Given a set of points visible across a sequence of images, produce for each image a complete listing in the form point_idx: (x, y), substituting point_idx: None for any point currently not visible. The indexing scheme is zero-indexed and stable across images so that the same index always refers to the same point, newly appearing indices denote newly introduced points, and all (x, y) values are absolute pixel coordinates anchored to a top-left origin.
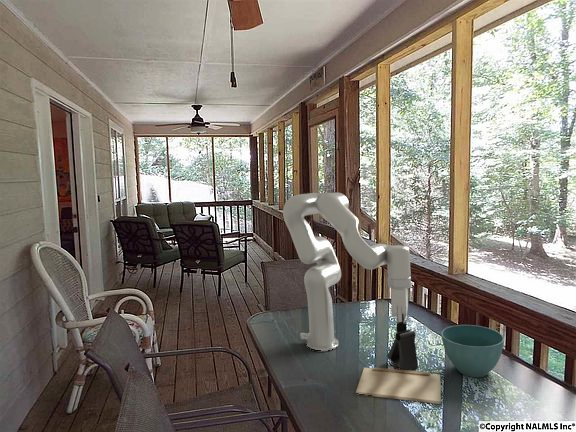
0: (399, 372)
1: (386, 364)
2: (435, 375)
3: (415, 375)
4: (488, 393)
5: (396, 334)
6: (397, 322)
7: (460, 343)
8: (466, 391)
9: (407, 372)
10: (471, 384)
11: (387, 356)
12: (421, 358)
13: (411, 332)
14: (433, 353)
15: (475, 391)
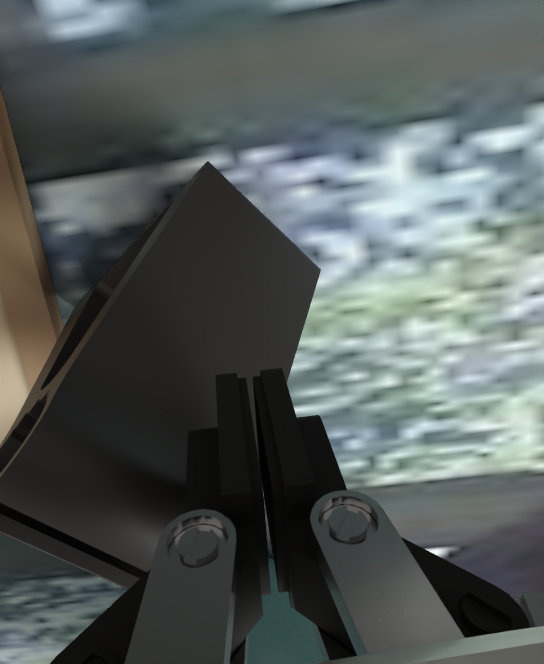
0: (3, 294)
1: (166, 153)
2: None
3: (24, 395)
4: (35, 653)
5: (37, 437)
6: (158, 569)
7: None
8: (6, 597)
9: (23, 350)
10: (90, 604)
11: (204, 166)
12: (336, 380)
13: None
14: (420, 431)
15: (27, 621)
